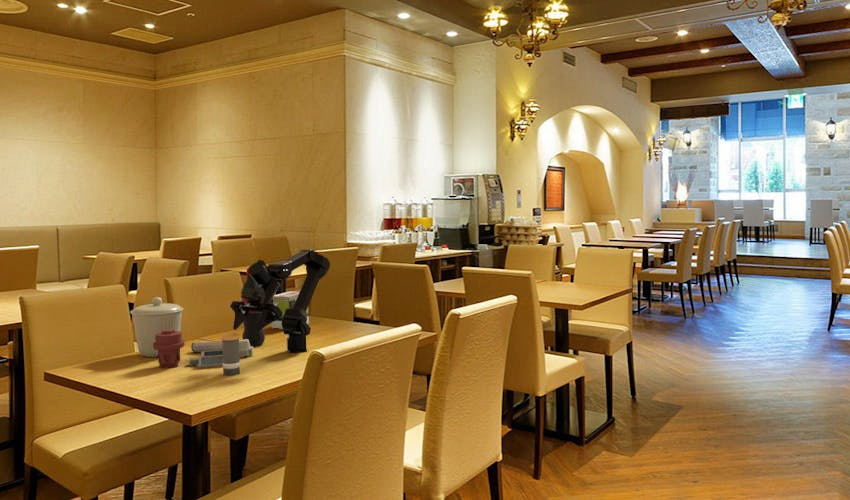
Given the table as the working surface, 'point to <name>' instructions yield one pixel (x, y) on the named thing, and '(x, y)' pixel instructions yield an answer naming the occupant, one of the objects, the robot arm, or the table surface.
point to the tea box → (285, 305)
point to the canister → (154, 323)
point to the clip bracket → (208, 359)
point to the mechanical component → (168, 347)
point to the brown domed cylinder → (230, 354)
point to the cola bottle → (252, 318)
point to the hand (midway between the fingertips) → (244, 330)
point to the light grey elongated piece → (217, 345)
